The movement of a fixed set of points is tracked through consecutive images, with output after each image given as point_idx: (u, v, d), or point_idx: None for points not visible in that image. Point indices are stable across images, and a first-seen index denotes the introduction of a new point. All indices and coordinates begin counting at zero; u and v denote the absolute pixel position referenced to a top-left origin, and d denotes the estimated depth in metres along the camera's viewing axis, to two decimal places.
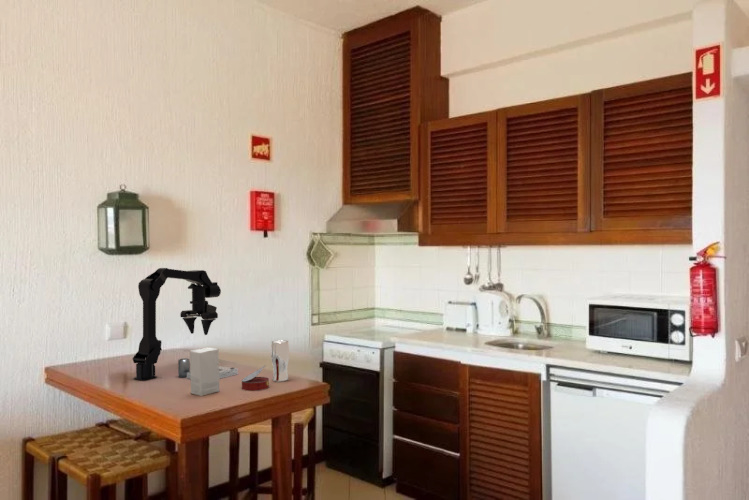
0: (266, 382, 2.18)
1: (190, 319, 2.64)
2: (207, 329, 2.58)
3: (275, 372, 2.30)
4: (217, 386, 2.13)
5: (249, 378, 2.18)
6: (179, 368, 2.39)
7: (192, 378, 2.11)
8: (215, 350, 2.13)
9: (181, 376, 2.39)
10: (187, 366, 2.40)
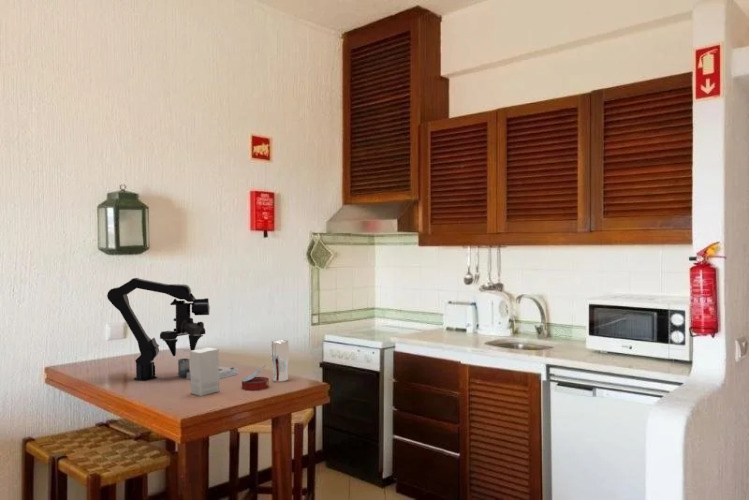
0: (266, 382, 2.18)
1: (192, 337, 2.46)
2: (172, 350, 2.36)
3: (275, 372, 2.30)
4: (217, 386, 2.13)
5: (249, 378, 2.18)
6: (179, 368, 2.39)
7: (192, 378, 2.11)
8: (215, 350, 2.13)
9: (181, 376, 2.39)
10: (187, 366, 2.40)
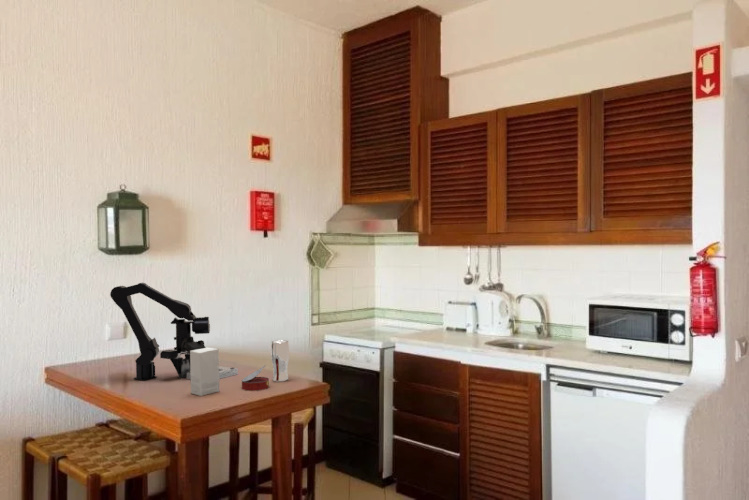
0: (266, 382, 2.18)
1: (188, 356, 2.44)
2: (177, 368, 2.38)
3: (275, 372, 2.30)
4: (217, 386, 2.13)
5: (249, 378, 2.18)
6: None
7: (192, 378, 2.11)
8: (215, 350, 2.13)
9: (181, 376, 2.39)
10: (187, 366, 2.40)
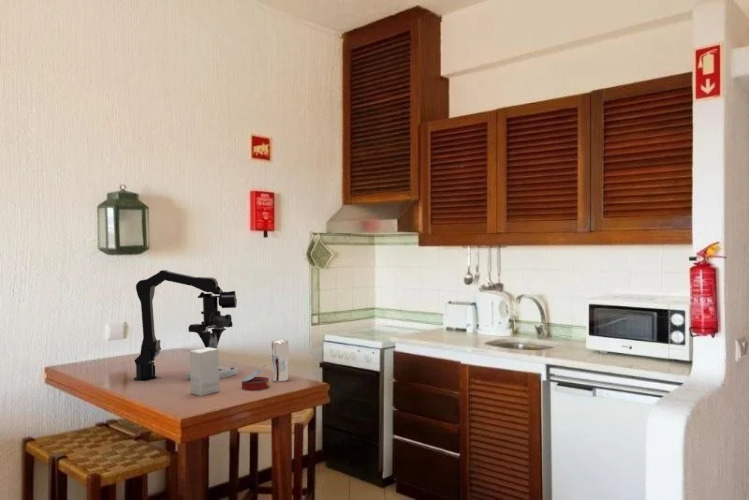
0: (266, 382, 2.18)
1: (215, 330, 2.43)
2: (205, 342, 2.38)
3: (275, 372, 2.30)
4: (217, 386, 2.13)
5: (249, 378, 2.18)
6: None
7: (192, 378, 2.11)
8: (215, 350, 2.13)
9: None
10: (215, 340, 2.40)
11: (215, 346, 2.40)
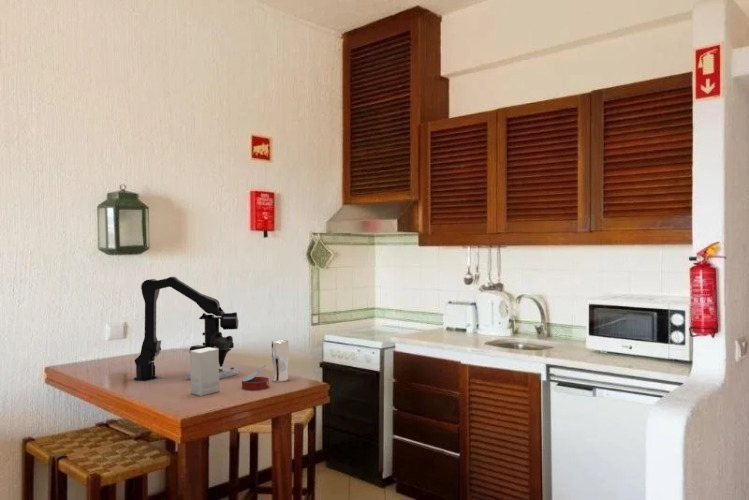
0: (266, 382, 2.18)
1: (220, 351, 2.45)
2: None
3: (275, 372, 2.30)
4: (217, 386, 2.13)
5: (249, 378, 2.18)
6: None
7: (192, 378, 2.11)
8: (215, 350, 2.13)
9: None
10: None
11: None
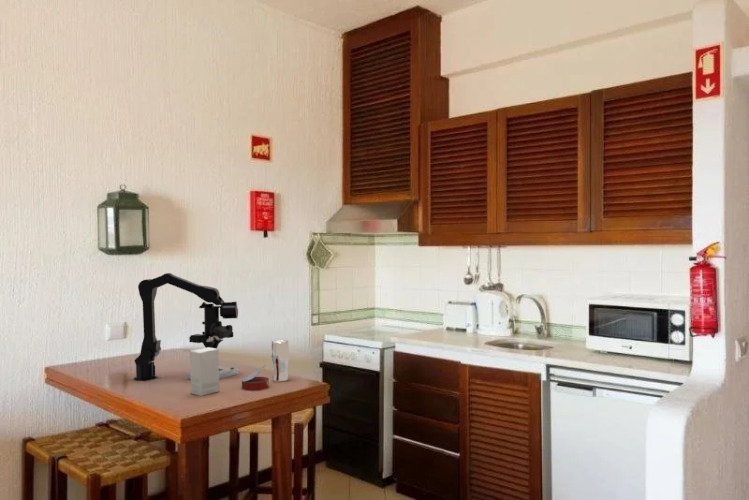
0: (266, 382, 2.18)
1: None
2: None
3: (275, 372, 2.30)
4: (217, 386, 2.13)
5: (249, 378, 2.18)
6: None
7: (192, 378, 2.11)
8: (215, 350, 2.13)
9: None
10: None
11: None
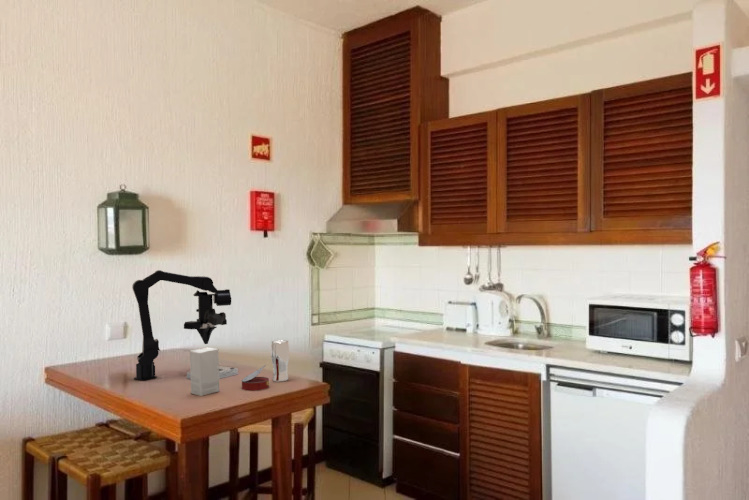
0: (266, 382, 2.18)
1: None
2: (204, 338, 2.47)
3: (275, 372, 2.30)
4: (217, 386, 2.13)
5: (249, 378, 2.18)
6: None
7: (192, 378, 2.11)
8: (215, 350, 2.13)
9: None
10: None
11: None
